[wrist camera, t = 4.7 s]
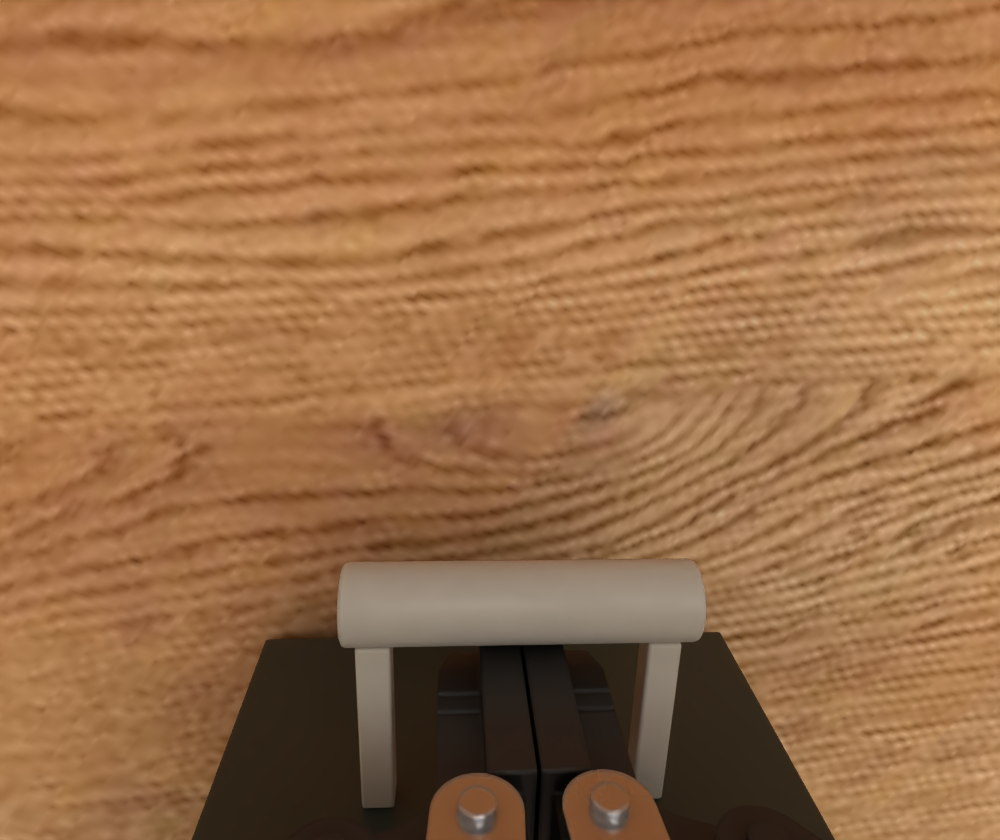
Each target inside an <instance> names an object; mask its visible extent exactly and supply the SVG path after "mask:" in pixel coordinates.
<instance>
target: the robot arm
mask: <svg viewBox="0 0 1000 840" xmlns="http://www.w3.org/2000/svg"><path fill="white" fill-rule="evenodd" d="M285 840H822V839H821V838H819V837H818V836H816V835H815V834H813V833H812V832H810V831H809V830H807V829H806V828H805V827H803V826H802V825H800V824H799V823H797V822H796V821H794V820H793V819H791V818H790V817H788V816H786V815H785V814H783V813H781V812H779V811H776V810H774V809H771V808H768V807H763V806H759V805H742V806H738V807H735V808H732V809H730V810H728V811H727V812H726V813H724V814H723V815H722V817H721V818H720V819H719V821H718V824H717V825H713V824H709V823H705V822H701V821H697V820H693V819H689V818H686V817H682V816H679V815H676V814H674V813H672V812H670V811H668V810H666V809H664V808H662V807H661V806H659V805H658V804H657V803H655V801H654V799H653V797H652V795H651V794H650V792H649V791H648V790H647V788H645V787H644V786H643V785H642V784H641V783H640V782H639V781H637V779H636V777H635V774H634V771H633V767H632V764H631V760H630V757H629V754H628V750H627V747H626V744H625V740H624V737H623V733H622V730H621V727H620V723H619V720H618V717H617V713H616V711H615V706H614V703H613V700H612V696H611V694H610V692H609V686H608V683H607V679H606V676H605V673H604V669H603V668H602V666H601V665H600V664H599V663H598V662H597V661H596V660H595V659H594V658H593V657H592V655H591V654H590V653H589V652H588V651H587V650H568V651H564V647H563V644H555V645H498V646H477V652H462V653H449V655H448V657H447V658H446V660H445V661H444V663H443V665H442V666H441V668H440V669H439V671H438V697H437V740H436V781H435V789H434V792H433V795H432V797H431V799H430V801H429V802H428V804H427V805H426V806H425V808H424V809H423V810H422V811H421V812H420V813H419V814H418V815H416V816H415V817H414V818H413V819H411V820H410V821H408V822H406V823H404V824H402V825H400V826H397V827H395V828H392V829H389V830H386V831H383V832H380V833H377V834H374V835H373V833H372V832H371V831H370V829H369V828H367V827H366V826H365V825H364V824H362V823H360V822H358V821H357V820H354V819H351V818H346V817H325V818H321V819H317V820H314V821H312V822H309V823H307V824H305V825H304V826H302V827H300V828H299V829H297V830H296V831H295V832H293V833H292V834H291V835H290V836H289V837H288V838H286V839H285Z"/></svg>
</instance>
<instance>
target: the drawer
mask: <svg viewBox="0 0 1000 840" xmlns="http://www.w3.org/2000/svg"><path fill="white" fill-rule="evenodd" d="M705 621H706V595H705V588H704V583H703V579H702V576H701V573H700V570H699V568H698V566H697V564H696V563H695V562H694V561H693V560H690V559H591V560H486V561H381V562H347V563H345V564H344V565H343V567H342V570H341V573H340V578H339V586H338V597H337V631H338V638H330V639H269V640H266V641H265V644H264V647H263V649H262V652H261V655H260V657H259V660H258V663H257V665H256V668H255V671H254V673H253V676H252V679H251V682H250V684H249V687H248V690H247V692H246V695H245V698H244V700H243V703H242V706H241V708H240V711H239V714H238V716H237V719H236V722H235V725H234V727H233V730H232V733H231V735H230V738H229V741H228V743H227V746H226V749H225V751H224V754H223V757H222V759H221V762H220V765H219V768H218V770H217V773H216V776H215V778H214V781H213V784H212V786H211V789H210V792H209V794H208V797H207V800H206V802H205V805H204V808H203V811H202V813H201V816H200V819H199V821H198V824H197V827H196V829H195V832H194V835H193V837H192V840H285V839H286V838H288V837H289V836H290V835H291V834H292V833H293V832H295V831H296V830H297V829H299V828H300V827H302V826H304V825H305V824H307V823H309V822H312V821H314V820H317V819H321V818H325V817H346V818H351V819H354V820H357V821H358V822H360V823H362V824H364V825H365V826H366V827H367V828H369V829H370V831H371V832H372V833H373V835H374V834H377V833H380V832H383V831H386V830H389V829H392V828H395V827H397V826H400V825H402V824H404V823H406V822H408V821H410V820H411V819H413V818H414V817H415V816H416V815H418V814H419V813H420V812H421V811H422V810H423V809H424V808H425V806H426V805H427V804H428V802H429V801H430V799H431V797H432V795H433V792H434V789H435V781H436V740H437V697H438V671H439V669H440V668H441V666H442V665H443V663H444V661H445V660H446V658H447V657H448V655H449V653H462V652H477V646H498V645H555V644H563V647H564V651H568V650H587V651H588V652H589V653H590V654H591V655H592V657H593V658H594V659H595V660H596V661H597V662H598V663H599V664H600V665H601V666H602V668H603V669H604V673H605V676H606V679H607V683H608V686H609V692H610V694H611V696H612V700H613V703H614V706H615V711H616V713H617V717H618V720H619V723H620V727H621V730H622V733H623V737H624V740H625V744H626V747H627V750H628V754H629V757H630V760H631V764H632V767H633V771H634V774H635V777H636V779H637V781H639V782H640V783H641V784H642V785H643V786H644V787H645V788H647V790H648V791H649V792H650V794H651V795H652V797H653V799H654V801H655V803H657V804H658V805H659V806H661V807H662V808H664V809H666V810H668V811H670V812H672V813H674V814H676V815H679V816H682V817H686V818H689V819H693V820H697V821H701V822H705V823H709V824H713V825H717V824H718V821H719V819H720V818H721V817H722V815H723V814H724V813H726V812H727V811H728V810H730V809H732V808H735V807H738V806H742V805H759V806H763V807H768V808H771V809H774V810H776V811H779V812H781V813H783V814H785V815H786V816H788V817H790V818H791V819H793V820H794V821H796V822H797V823H799V824H800V825H802V826H803V827H805V828H806V829H807V830H809V831H810V832H812V833H813V834H815V835H816V836H818V837H819V838H821V839H822V840H835V839H834V837H833V835H832V834H831V832H830V830H829V828H828V826H827V825H826V823H825V821H824V819H823V817H822V816H821V814H820V812H819V810H818V808H817V807H816V805H815V803H814V801H813V799H812V798H811V796H810V794H809V792H808V790H807V789H806V787H805V785H804V783H803V781H802V780H801V778H800V776H799V774H798V772H797V770H796V769H795V767H794V765H793V763H792V761H791V760H790V758H789V756H788V754H787V752H786V751H785V749H784V747H783V745H782V743H781V742H780V740H779V738H778V736H777V734H776V733H775V731H774V729H773V727H772V725H771V724H770V722H769V720H768V718H767V716H766V715H765V713H764V711H763V709H762V707H761V706H760V704H759V702H758V700H757V698H756V697H755V695H754V693H753V691H752V689H751V688H750V686H749V684H748V682H747V680H746V679H745V677H744V675H743V673H742V671H741V670H740V668H739V666H738V664H737V662H736V661H735V659H734V657H733V655H732V653H731V652H730V650H729V648H728V646H727V644H726V643H725V641H724V639H723V637H722V635H721V634H720V633H719V632H703V631H704V627H705Z"/></svg>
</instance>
